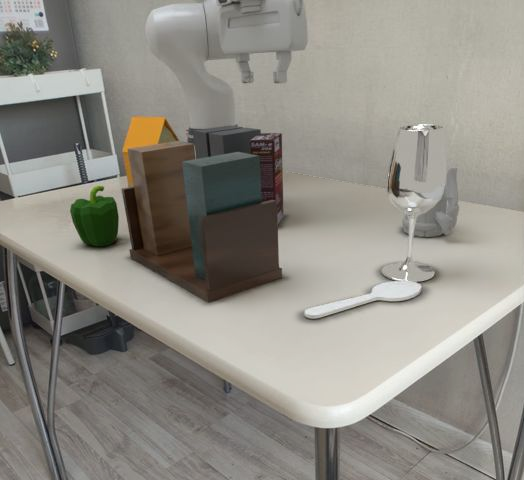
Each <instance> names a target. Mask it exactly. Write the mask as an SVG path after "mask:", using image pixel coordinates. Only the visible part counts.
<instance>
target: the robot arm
mask: <svg viewBox="0 0 524 480" xmlns="http://www.w3.org/2000/svg"><path fill="white" fill-rule="evenodd" d="M193 1H194V2H191V3H189V2H187V3H172V4H171V3H170V4H168V5H163V6H160V7H157V8H154V9H152V10H151V11H150V13H149V14H148V16H147V19H146V22H145V29H144V31H145V33H144V34H145V39H146V43H147V45H148V47H149V49H150V51H151V53H152V54H153V55H154V56H155V57H156V58H157V59H158V60H159V61H161V62H162V63H164V64H165V65H166V66H167V67H168V68H169V69H170V70H171V72H173V73H174V75H175V77H176V78H177V80H178V82H179V84H180V85H181V87H182V90H183V94H184V97H185V101H186V102H185V103H186V108H187V114H188V121H189V128H188V129H186V130H185V132H187V133H186V134H185V135H186V136H187V143H192V144H194V135H193V131H195V130H202V129H209V128H216V127H222V126H229V125H230V126H238V127H239V125H238V124H237V118H236V104H235V103H236V101H235V93H234V90H233V88H232V87H231V85H230V84H229V83H228V82H226V81H225V80H223V79H221V78H220V77H217V76H215V75H214V74H211V73H209V72H208V71H207V69H206V67H205V63H206V62H208V61H219V60H234V59H235V63H236V66H237V68H238V71H239V73H240V81H241V83H242V84H253V83H254V81H255V78H254V71H251V67H250V64H249V61H250V55H253V54H260V53H261V54H263V53H264V54H265V53H275V59H276V60H277V65H276V70H275V71H272V77H273V83H274V84H286V83H287V82H288V70H289V67H290V64H291V61H292V52H298V51H304V50H305V49H306V48H307V45H308V42H309V34H308V33H309V31H308V20H307V11H306V5H305V2H304V0H193ZM194 149H195V144H194ZM195 158H196V154H195Z"/></svg>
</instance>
